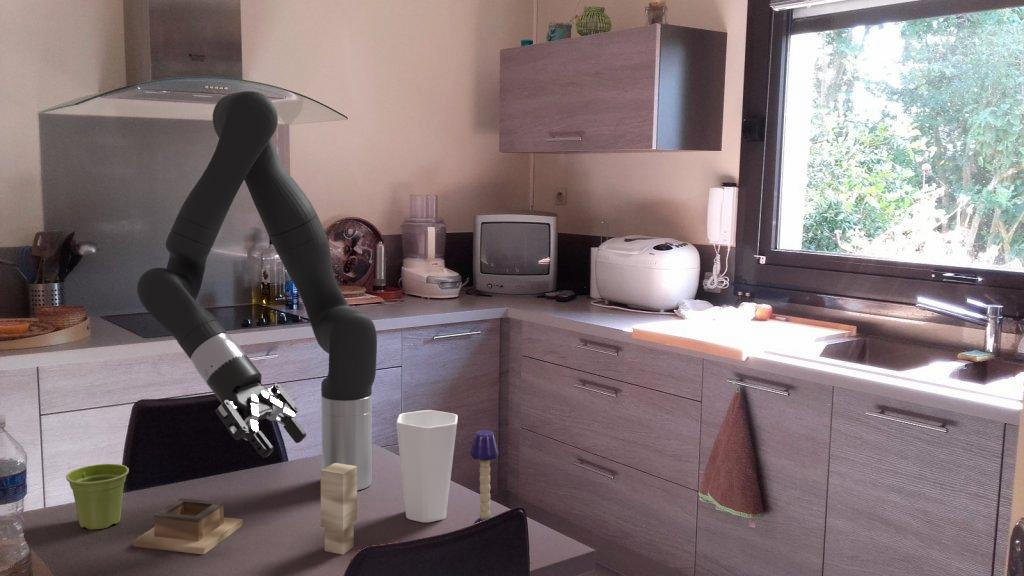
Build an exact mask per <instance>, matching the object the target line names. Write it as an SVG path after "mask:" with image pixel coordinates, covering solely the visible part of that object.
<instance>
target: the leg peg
mask: <svg viewBox="0 0 1024 576" xmlns="http://www.w3.org/2000/svg"><path fill="white" fill-rule="evenodd" d="M357 522H358V490H357V466H352V465H346V464H339V463H334V464H332V465H330V466H328V467H326V468H324V469H322V468H321V469H320V527H321V528H324V552H328V553H333V554H338V555H344V554H346V553H347V552H348V551H350V550H351V549H353V548H354V546H355V545H354V542H355V541H354V540H355V539H354V536H355V535H354V533H355V531H354V530H355V529H354V526H355V524H357Z"/></svg>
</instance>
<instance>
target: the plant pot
mask: <svg viewBox="0 0 1024 576" xmlns="http://www.w3.org/2000/svg"><path fill="white" fill-rule="evenodd" d="M129 469H130V468H129V467H127V465H124V464H119V463H98V464H92V465H86V466H83V467H79V468H78V467H77V468H76V469H74V470H71V471H70V472H68V473H67V474H66V475H65V478H66V481H67V482H68V483H69V487H70V488H71V490H72V495H73V499H74V503H75V508H76V512H77V517H78V518H77V519H78V522H79V526H80V527H81V528H86V529H87V530H100V529H101V530H102V529H106V528H109V527H111V526H112V525H113V524H115V525H117V524H118V523H119V522H120V521H121V516H122V504H123V498H124V497H123V495H124V485H125V482H126V480H127V475H128V474H129V472H130V470H129Z"/></svg>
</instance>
